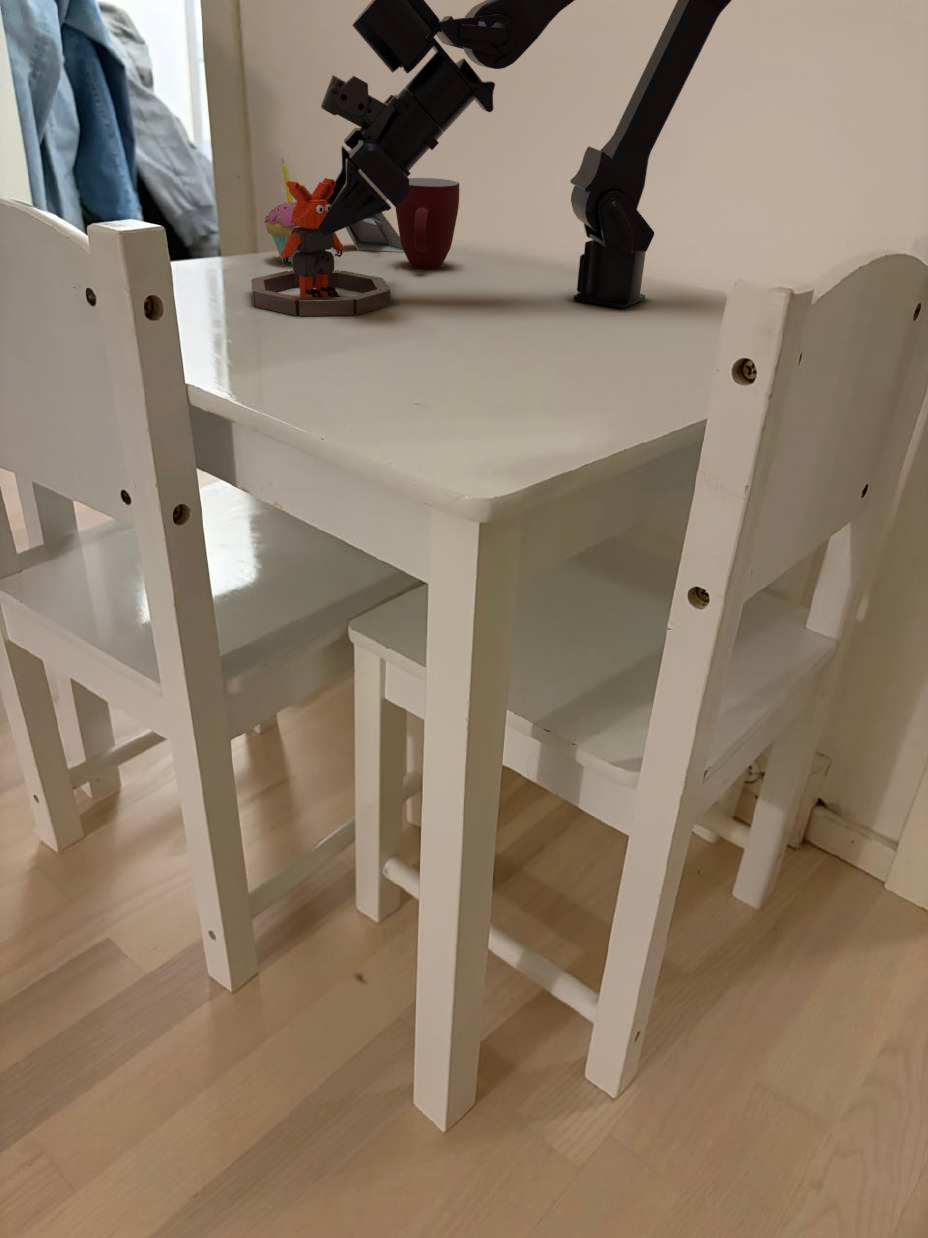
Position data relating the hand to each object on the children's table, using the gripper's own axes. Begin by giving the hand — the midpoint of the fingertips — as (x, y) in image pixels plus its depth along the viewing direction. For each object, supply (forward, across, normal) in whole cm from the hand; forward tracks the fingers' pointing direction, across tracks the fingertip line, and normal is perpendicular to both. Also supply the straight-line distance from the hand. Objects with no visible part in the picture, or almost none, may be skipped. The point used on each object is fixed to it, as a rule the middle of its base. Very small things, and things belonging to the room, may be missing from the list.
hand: (320, 224), depth 102 cm
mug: (-4, -17, +15) cm, 23 cm away
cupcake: (+7, -20, +4) cm, 22 cm away
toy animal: (+6, 0, +6) cm, 8 cm away
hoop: (+6, 0, +5) cm, 8 cm away
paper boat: (+1, -29, +10) cm, 30 cm away
